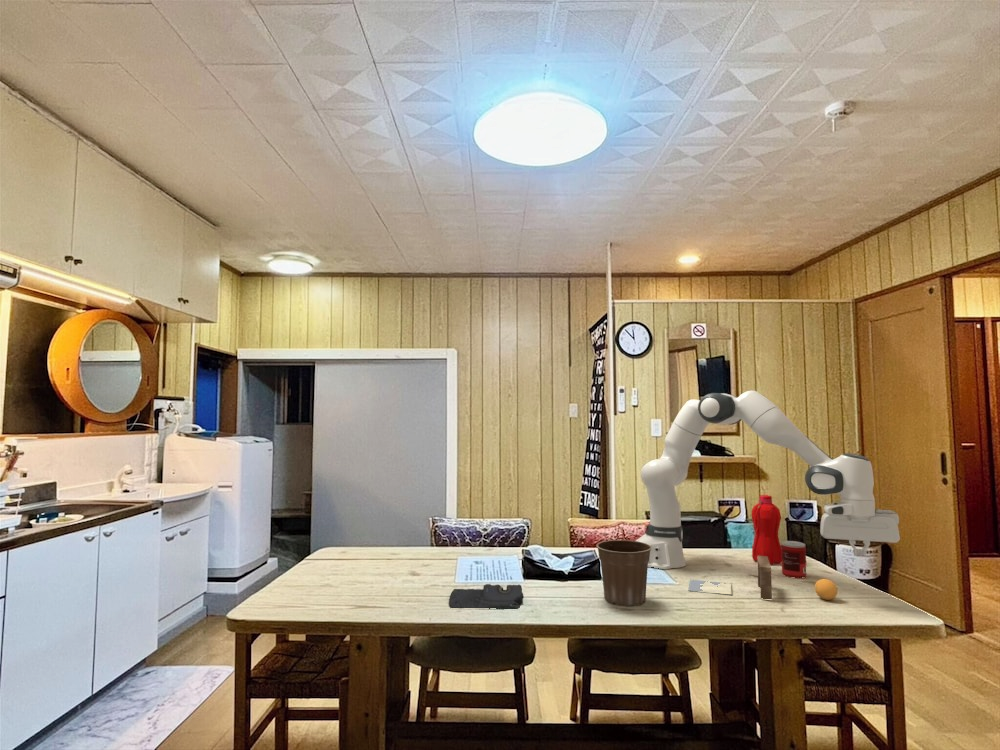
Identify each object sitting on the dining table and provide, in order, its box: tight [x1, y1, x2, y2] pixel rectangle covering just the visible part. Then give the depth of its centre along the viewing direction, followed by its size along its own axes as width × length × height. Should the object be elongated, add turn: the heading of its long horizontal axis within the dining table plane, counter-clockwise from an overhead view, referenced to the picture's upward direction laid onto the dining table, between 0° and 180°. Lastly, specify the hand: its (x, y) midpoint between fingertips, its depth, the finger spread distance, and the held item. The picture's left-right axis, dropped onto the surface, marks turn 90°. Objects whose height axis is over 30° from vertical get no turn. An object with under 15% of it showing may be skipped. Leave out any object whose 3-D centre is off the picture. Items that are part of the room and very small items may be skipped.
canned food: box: [780, 540, 807, 579], centre depth 203 cm, size 8×8×11 cm
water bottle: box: [751, 494, 782, 566], centre depth 222 cm, size 9×11×25 cm
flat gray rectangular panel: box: [687, 579, 732, 592], centre depth 188 cm, size 13×13×1 cm
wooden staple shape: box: [757, 556, 773, 600], centre depth 183 cm, size 3×15×10 cm, turn 159°
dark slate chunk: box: [448, 583, 525, 610], centre depth 174 cm, size 15×22×5 cm
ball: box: [814, 578, 838, 601], centre depth 177 cm, size 6×6×6 cm
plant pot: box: [596, 539, 652, 607], centre depth 176 cm, size 16×16×16 cm
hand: (860, 555), depth 174 cm, fingers closed
